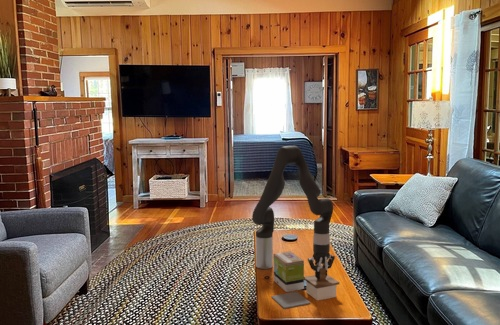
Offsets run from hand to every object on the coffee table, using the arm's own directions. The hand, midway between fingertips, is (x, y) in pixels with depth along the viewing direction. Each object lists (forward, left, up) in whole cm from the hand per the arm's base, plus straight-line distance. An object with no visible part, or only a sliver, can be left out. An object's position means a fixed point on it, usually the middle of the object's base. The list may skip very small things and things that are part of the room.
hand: (321, 277), depth 205 cm
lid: (0, 0, -2) cm, 2 cm away
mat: (0, -16, -8) cm, 18 cm away
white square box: (0, 0, -8) cm, 8 cm away
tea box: (-16, -9, -8) cm, 20 cm away
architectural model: (-17, +10, -9) cm, 21 cm away
